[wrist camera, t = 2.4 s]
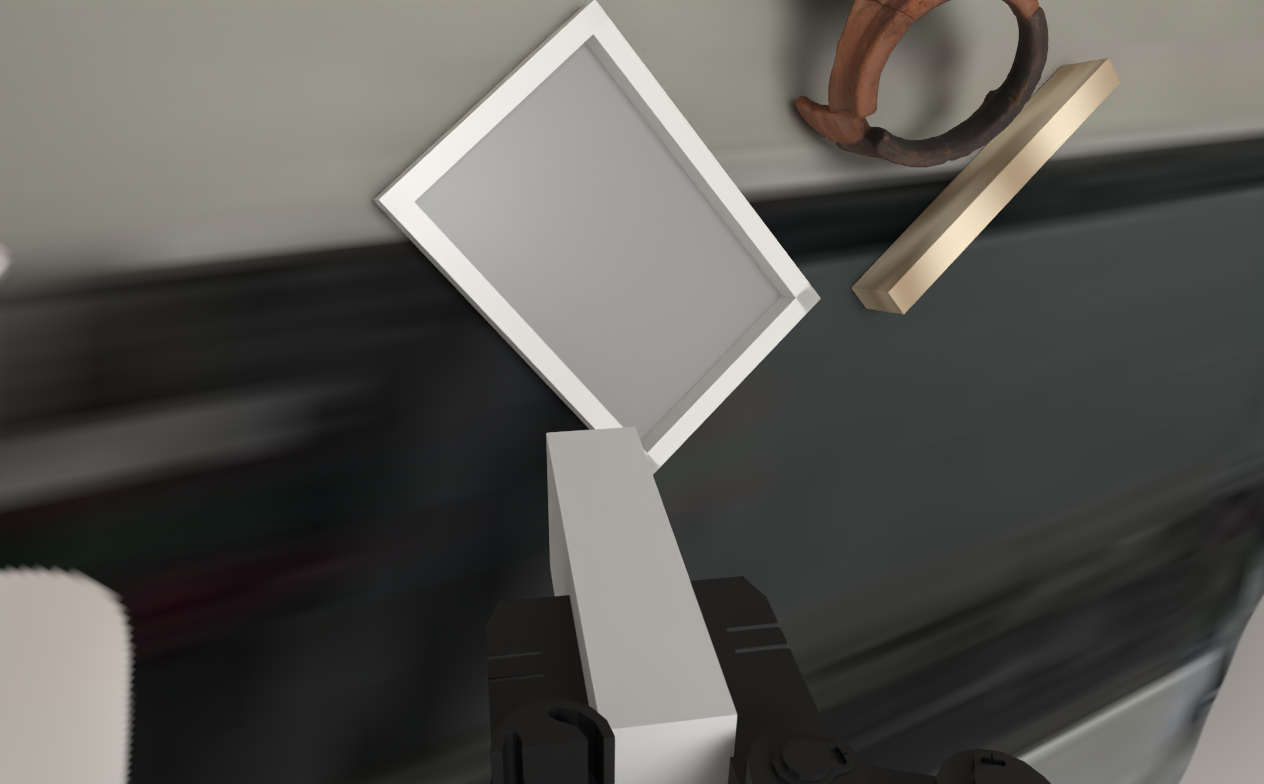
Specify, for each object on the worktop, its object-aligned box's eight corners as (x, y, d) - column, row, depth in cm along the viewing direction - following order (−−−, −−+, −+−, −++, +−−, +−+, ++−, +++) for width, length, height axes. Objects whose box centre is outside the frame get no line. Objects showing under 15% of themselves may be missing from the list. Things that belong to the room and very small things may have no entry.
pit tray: (630, 472, 38) (645, 482, 37) (372, 200, 33) (378, 199, 31) (800, 295, 40) (820, 298, 38) (580, 7, 34) (594, -2, 33)
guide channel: (866, 308, 41) (903, 314, 39) (568, -98, 34) (593, -120, 31) (1073, 88, 43) (1120, 81, 41) (836, -339, 36) (878, -377, 33)
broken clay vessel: (995, -20, 41) (1115, 60, 36) (822, 139, 44) (906, 236, 38) (851, -260, 34) (973, -210, 28) (654, -50, 37) (727, 35, 31)
